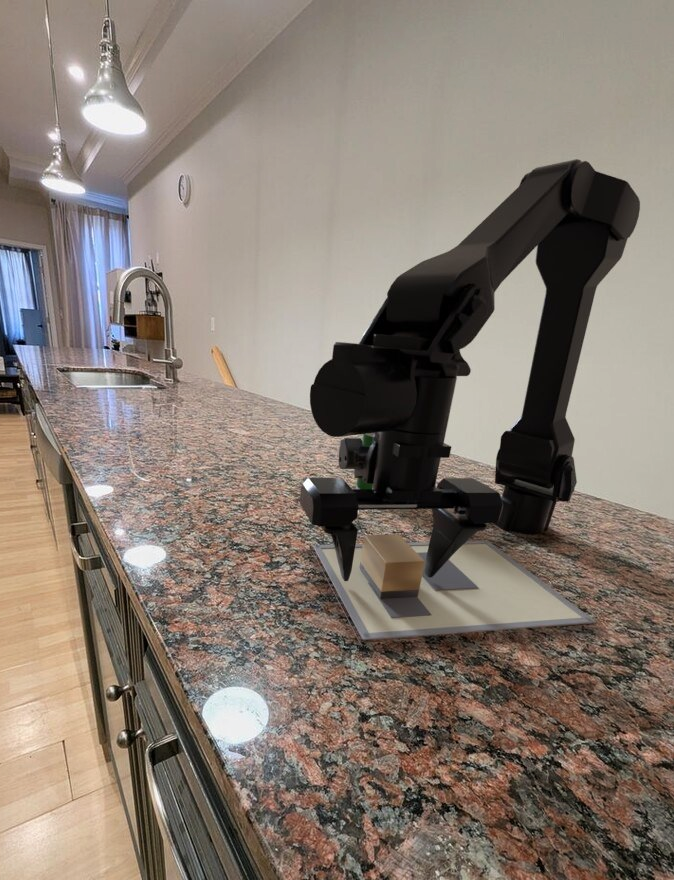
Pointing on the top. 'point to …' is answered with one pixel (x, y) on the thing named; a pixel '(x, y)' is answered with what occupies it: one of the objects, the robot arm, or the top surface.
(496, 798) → the top surface
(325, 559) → the memo board
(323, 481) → the robot arm
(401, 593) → the eraser
